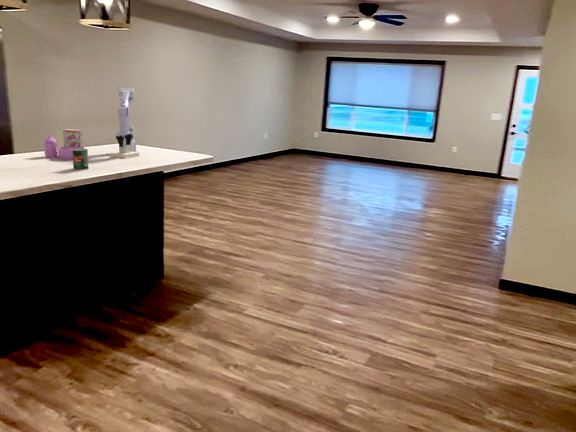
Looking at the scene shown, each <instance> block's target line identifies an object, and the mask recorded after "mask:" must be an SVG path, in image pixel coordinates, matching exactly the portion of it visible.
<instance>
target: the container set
mask: <svg viewBox="0 0 576 432" xmlns="http://www.w3.org/2000/svg"><path fill="white" fill-rule="evenodd" d="M43 141H44V143H43V144H44V148H45V150H44V155H45V157H47V158H57V159H58V160H60V159H61V160H62V161H73V150H72V149H77V148H82V147H64V146H61V147H58V148H57V146H58V144H57V143H56V142H57V140H56V138H54V137H53V136H52V135H48V136H47V137H46V138H45V139H44V140H43ZM56 148H57V149H56ZM83 149H85V147H84V148H83ZM57 156H58V157H57Z"/></svg>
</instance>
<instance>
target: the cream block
mask: <svg viewBox="0 0 576 432" xmlns="http://www.w3.org/2000/svg"><path fill="white" fill-rule="evenodd" d="M109 156H110V157H111V158H118V159H130V158H131V159H132V158H136V157H140V152H138V151H137V152H130V153H119V151H115V152H110V154H109Z"/></svg>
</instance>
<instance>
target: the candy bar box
mask: <svg viewBox="0 0 576 432" xmlns="http://www.w3.org/2000/svg"><path fill="white" fill-rule="evenodd" d="M62 132H63V134H62V135H63V147H82V148H84V149H85V146H84V130H81V129H70V128H64V129H62Z"/></svg>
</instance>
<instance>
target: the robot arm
mask: <svg viewBox="0 0 576 432" xmlns="http://www.w3.org/2000/svg"><path fill="white" fill-rule="evenodd" d="M118 97H119V100H120V102H119V107H118V108H117V109H118V110H117V114H118V119H119V120H118V121H119V131H118V132H116V135H115V138H116V141H117V143H118V147H119V146H120V147H123V145H130V152H138V151H137V143H136V140H135V137H136V136H135V134H136V133H135V127H134V126H131V104H132V103H133V102H134V101H135V89H134V88H132V87H131V88H129V87H128V88H127V87H119V88H118Z"/></svg>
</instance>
